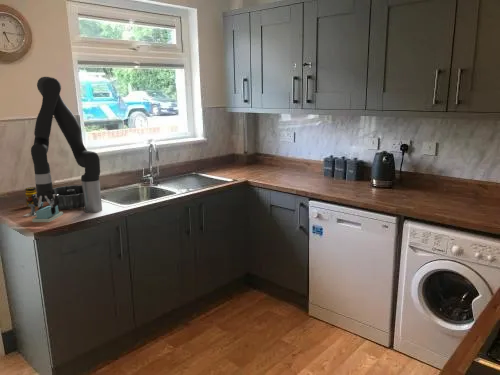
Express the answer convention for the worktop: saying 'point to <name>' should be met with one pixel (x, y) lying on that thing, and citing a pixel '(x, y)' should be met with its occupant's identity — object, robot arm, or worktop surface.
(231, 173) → the worktop surface
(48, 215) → the slotted block
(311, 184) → the worktop surface
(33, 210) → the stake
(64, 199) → the bundt pan
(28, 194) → the condiment
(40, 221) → the tray
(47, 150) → the robot arm
